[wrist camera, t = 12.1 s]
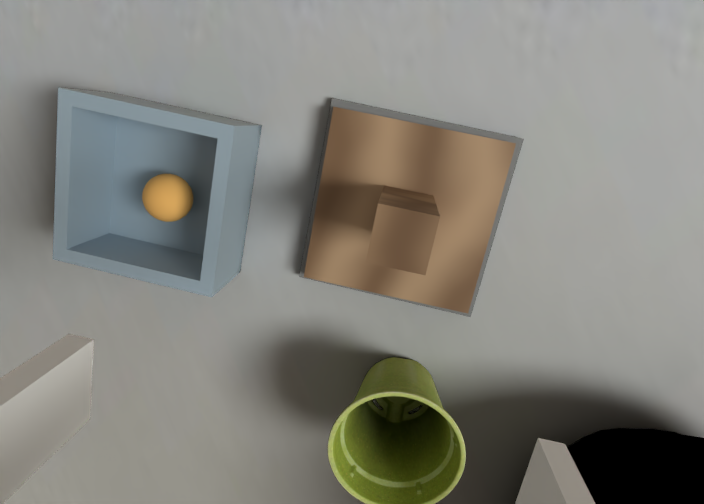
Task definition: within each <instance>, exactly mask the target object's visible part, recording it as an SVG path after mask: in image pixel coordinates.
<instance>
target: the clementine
mask: <svg viewBox="0 0 704 504" xmlns="http://www.w3.org/2000/svg"><path fill="white" fill-rule="evenodd" d="M142 201H143V204H144V207H145V209H146V210H147V212H148V213H149V214H150V215H151V216H153V217H154V218H156V219H158V220H161V221H165V222H173V221H177V220H180V219H181V218H183V217H185V216H186V215H187V214H188V213H189V211H190V210H191V208H192V205H193V192H192V189H191V187H190V186H189V184H188V183H187V182H186V181H185V180H184V179H183V178H181V177H179V176H177V175H174V174H160V175H157V176H155V177H153V178H151V179H150V180H149V181H148V182H147V184H146V185H145V187H144V189H143V193H142Z"/></svg>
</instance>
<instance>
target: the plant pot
mask: <svg viewBox="0 0 704 504" xmlns="http://www.w3.org/2000/svg"><path fill="white" fill-rule="evenodd" d="M373 399H376V400H377V402H378V404H379V405H380V406H381V407H382V408H383V410H380V409H379V408H377V407H376V405H375V404H374V403H373ZM420 405H422V406H421V408H420V409H419V411H417V412H416V413H413V414H409V413H408V412H409V411H411V410H413V409H415V408H417V407H419V406H420ZM328 458H329V462H330V465H331V468H332V471H333V473H334V475H335V477H336V478H337V480H338V481H339V483H340V484H341V485H342V486H343V487H344V488H345V489H346V490H347V491H348V492H349V493H350V494H351V495H352V496H354V497H355V498H357V499H358V500H360V501H362V502H363V503H366V504H435V503H437V502H438V501H440V500H441V499H443V498H444V497H445V496H447V495H448V494H449V493H450V492H451V491H452V490H453V489H454V487H455V486H456V484H457V483H458V481H459V480H460V478H461V476H462V473H463V470H464V467H465V460H466V450H465V443H464V440H463V436H462V434H461V431H460V429H459V427H458V426H457V424H456V422H455V421H454V420H453V418H452V417H451V416H450V415H449V414H448V413H447V412H446V411H445V410H444V409H443V406H442V404H441V401H440V398H439V395H438V393H437V390H436V387H435V384H434V381H433V379H432V377H431V375H430V373H429V372H428V371H427V370H426V369H425V368H424V367H423V366H422V365H421V364H419V363H418V362H416V361H414V360H409V359H402V358H396V357H392V358H387V359H384V360H381V361H380V362H378V363H376V364H375V365H374V366H373V367H372V368H371V369H370V370H369V371H368V373H367V374H366V376H365V378H364V380H363V382H362V385H361V387H360V389H359V391H358V393H357V396H356V398H355V400H354V402H353V403H351V404H350V405H349V406H348V407H347V408H346V409H345V410H344V411H343V412H342V413H341V414H340V415H339V417H338V418H337V420H336V421H335V423H334V425H333V427H332V429H331V432H330V436H329V441H328Z"/></svg>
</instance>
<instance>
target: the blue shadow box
mask: <svg viewBox="0 0 704 504" xmlns="http://www.w3.org/2000/svg"><path fill="white" fill-rule="evenodd" d="M261 127H262V125H258V124H254V123H249V122H245V121H240V120H235V119H231V118H226V117H222V116H217V115H212V114H208V113H203V112H199V111H194V110H190V109H185V108H180V107H176V106H171V105H167V104H162V103H157V102H153V101H148V100H144V99H139V98H135V97H130V96H125V95H121V94H116V93H111V92H101V91H90V90H79V89H69V88H58V109H57V141H56V173H55V205H54V237H53V259H54V260H58V261H62V262H66V263H71V264H75V265H79V266H83V267H87V268H92V269H96V270H100V271H104V272H108V273H112V274H117V275H121V276H125V277H129V278H133V279H138V280H142V281H146V282H150V283H154V284H158V285H163V286H167V287H171V288H175V289H179V290H184V291H188V292H192V293H196V294H200V295H204V296H209V297H213V296H214V295H215V294H216V293H217V292H218V291H220V290H221V289H222V288H223V287H224V286H225V285H226V284H227V283H228V282H230V281H231V280H232V279H233V278H234V277H235V276H236V275H237V274H238V273H240V270H241V263H242V256H243V249H244V242H245V236H246V229H247V222H248V215H249V209H250V202H251V195H252V188H253V181H254V175H255V168H256V161H257V154H258V148H259V141H260V134H261ZM160 174H174V175H177V176H179V177H181V178H183V179H184V180H185V181H186V182H187V183H188V184H189V186H190V187H191V189H192V192H193V205H192V208H191V210H190V211H189V213H188V214H187V215H186V216H185V217H183V218H181V219H180V220H177V221H173V222H165V221H161V220H158V219H156V218H154V217H153V216H151V215H150V214H149V213H148V212H147V210H146V209H145V207H144V204H143V201H142V193H143V189H144V187H145V185H146V184H147V182H148V181H149V180H150V179H151V178H153V177H155V176H157V175H160Z"/></svg>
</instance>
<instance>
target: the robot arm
mask: <svg viewBox="0 0 704 504" xmlns="http://www.w3.org/2000/svg"><path fill="white" fill-rule="evenodd" d="M93 345H94V339H90V338H85V337H81V336H76V335H71V334H68V335H66V336H65V337H63V338H62V339H60V340H59V341H57V342H56V343H54V344H53V345H51V346H49V347H48V348H46V349H45V350H43V351H42V352H40V353H39V354H37V355H35V356H34V357H32V358H31V359H29V360H28V361H26V362H25V363H23V364H22V365H20V366H18V367H17V368H15V369H14V370H12V371H11V372H9V373H8V374H6V375H5V376H3V377H1V378H0V504H3V503H4V502H5V501H6V500H7V499H8V498H9V497H10V496H11V495H12V494H13V493H14V492H15V491H16V490H17V489H18V488H19V487H20V486H22V485H23V484H24V483H25V482H26V481H27V480H28V479H29V478H30V477H31V476H32V475H33V474H34V473H35V472H36V471H37V470H38V469H39V468H40V467H41V466H42V465H43V464H44V463H45V462H46V461H47V460H48V459H49V458H51V457H52V456H53V455H54V454H55V453H56V452H57V451H58V450H59V449H60V448H61V447H62V446H63V445H64V444H65V443H66V442H67V441H68V440H69V439H70V438H71V437H72V436H73V435H74V434H75V433H76V432H77V431H78V430H80V429H81V428H82V427H83V426H84V425H85V424H86V423H87V422H88V421H89V420H90V416H91V393H92V369H93ZM515 504H595V502H594V500H593V498H592V496H591V494H590V492H589V490H588V488H587V486H586V484H585V482H584V480H583V478H582V476H581V474H580V472H579V470H578V468H577V466H576V465H575V463H574V461H573V459H572V457H571V455H570V453H569V451H568V449H567V447H566V445H565V444H563V443H559V442H554V441H550V440H545V439H541V438H538V439H537V442H536V445H535V448H534V451H533V454H532V456H531V459H530V462H529V465H528V468H527V471H526V474H525V477H524V479H523V482H522V485H521V488H520V491H519V494H518V497H517V500H516V503H515Z"/></svg>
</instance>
